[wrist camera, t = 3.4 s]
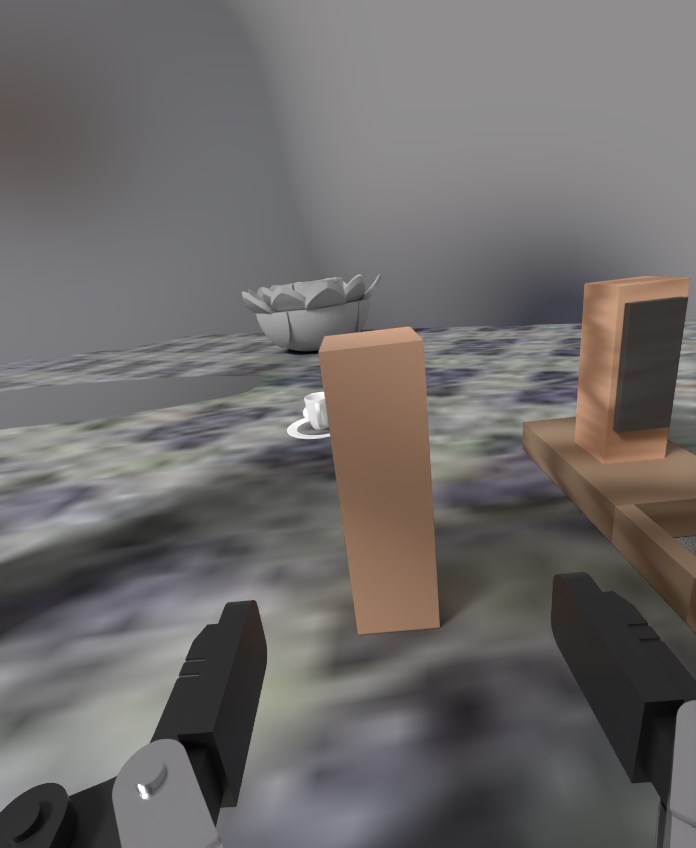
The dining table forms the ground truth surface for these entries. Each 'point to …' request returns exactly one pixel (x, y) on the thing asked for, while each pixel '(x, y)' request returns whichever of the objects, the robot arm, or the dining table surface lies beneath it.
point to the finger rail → (629, 433)
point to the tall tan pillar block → (383, 475)
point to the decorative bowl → (311, 310)
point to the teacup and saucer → (312, 416)
